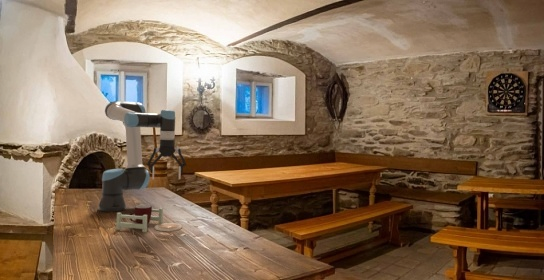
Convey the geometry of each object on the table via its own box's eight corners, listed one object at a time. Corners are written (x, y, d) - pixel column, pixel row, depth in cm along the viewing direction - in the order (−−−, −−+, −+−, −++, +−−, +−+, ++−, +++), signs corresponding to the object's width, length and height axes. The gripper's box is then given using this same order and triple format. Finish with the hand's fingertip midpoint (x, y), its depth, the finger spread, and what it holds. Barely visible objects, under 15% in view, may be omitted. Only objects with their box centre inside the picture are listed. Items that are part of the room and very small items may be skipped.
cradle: (116, 229, 196) (116, 213, 195) (135, 221, 213) (136, 206, 213) (145, 232, 193) (145, 215, 193) (162, 223, 211) (163, 208, 210)
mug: (130, 229, 197) (131, 208, 197) (127, 225, 204) (128, 205, 204) (153, 227, 202) (153, 207, 202) (149, 223, 209) (149, 204, 209)
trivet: (149, 230, 197) (150, 228, 197) (162, 223, 210) (162, 221, 210) (175, 232, 195) (175, 230, 195) (186, 225, 208) (186, 224, 208)
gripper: (142, 138, 209) (141, 180, 210) (192, 139, 217) (191, 179, 218) (142, 138, 216) (141, 178, 217) (190, 139, 224) (189, 177, 225)
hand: (166, 179), depth 217 cm, fingers open, 13 cm apart
